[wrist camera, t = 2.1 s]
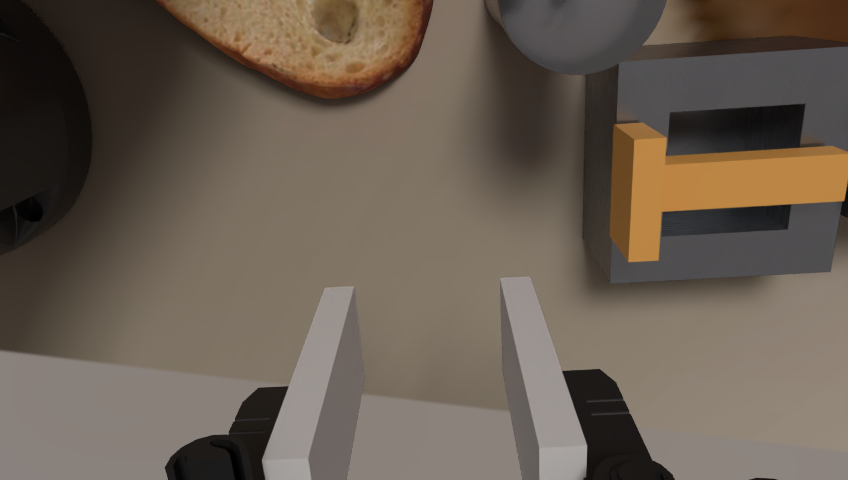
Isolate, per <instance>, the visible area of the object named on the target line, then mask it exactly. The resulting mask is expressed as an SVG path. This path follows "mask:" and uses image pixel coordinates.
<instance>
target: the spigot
mask: <svg viewBox="0 0 848 480" xmlns="http://www.w3.org/2000/svg"><path fill="white" fill-rule="evenodd" d="M666 1H667V0H485V4H486V7H487V9H488V11H489V13H490V15H491V16H492V18H493V19H494V20H495V21H496V22H497V23H498V24H499V25H501V26H502V27H503V28H504V30H505V32H506V34H507V36H508V37H509V39H510V40H511V41H512V43H513V44H514V45H515V46H516V47H517V48H518V50H519V51H520V52H522V53H523V54H524V55H525V56H526V57H528V58H529V59H530V60H532V61H533V62H535V63H537V64H538V65H540V66H542V67H544V68H546V69H549V70H551V71H555V72H558V73H563V74H570V75H583V74H591V73H596V72H599V71H603V70H606V69H608V68H610V67H613V66H615V65H617V64H618V63H620V62H622V61H624V60H625V59H626V58H628V57H629V56H631V55H632V54H633V53H634V52H635V51H636V50H638V49H639V48H640V47H641V46H642V45H643V43H644V42H645V41H646V40H647V39H648V38H649V36H650V35H651V33H652V32H653V30H654V29H655V27H656V25H657V23H658V22H659V20H660V18H661V15H662V13H663V10H664V8H665V5H666Z"/></svg>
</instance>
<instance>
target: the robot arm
mask: <svg viewBox="0 0 848 480" xmlns="http://www.w3.org/2000/svg"><path fill="white" fill-rule="evenodd" d="M91 138H92V136H91V124H90V116H89V111H88V107H87V102H86V99H85V95H84V92H83V89H82V87H81V84H80V81H79V79H78V77H77V74H76V72H75V70H74V68H73V66H72V64H71V62H70V60H69V59H68V57H67V55H66V54H65V52H64V50H63V49H62V47H61V46H60V44H59V43H58V41H57V40H56V38H55V37H54V36H53V35H52V33H51V32H50V31H49V29H48V28H47V27H46V26H45V25H44V24H43V22H42V21H41V20H40V19H39V18H38V17H37V16H36V15H35V14H34V13H33V12H32V11H31V10H30V9H29V8H28V7H27V6H26V5H24V4H23V3H22V2H21V1H20V0H0V255H2V254H5V253H8V252H10V251H12V250H14V249H16V248H18V247H20V246H22V245H24V244H25V243H27V242H29V241H30V240H32V239H33V238H35V237H37V236H38V235H40V234H42V233H43V232H45V231H46V230H48V229H49V228H50V227H52V226H53V225H54V224H55V223H57V222H58V221H59V220H60V219H61V218H62V217H63V216H64V215H65V214H66V212H67V211H68V210H69V209H70V207H71V206H72V205H73V203H74V202H75V200H76V198H77V197H78V195H79V193H80V191H81V189H82V186H83V184H84V181H85V178H86V175H87V172H88V168H89V163H90V157H91ZM500 297H501V333H502V369H503V376H504V381H505V387H506V392H507V398H508V403H509V409H510V414H511V420H512V425H513V430H514V436H515V441H516V447H517V452H518V458H519V463H520V469H521V474H522V480H675V479H674V478H673V475H672V474H671V473H670V472H669V471H667V469H666V468H664V467H663V466H662V465H661V464H659V463H656V462H655V461H652V459H651V457H650V454H649V452H648V450H647V448H646V446H645V444H644V442H643V439H642V437H641V435H640V433H639V431H638V429H637V427H636V424H635V422H634V420H633V418H632V416H631V414H629V409H628V407H627V405H626V403H625V401H623V397H622V394H621V392H620V390H619V388H618V386H617V384H616V382H615V381H614V380H612V379H611V378H610V377H609V376H607V375H606V374H605V373H604V372H603V371H601V370H600V369H592V370H572V371H562V370H561V367H560V364H559V361H558V358H557V355H556V352H555V349H554V346H553V343H552V340H551V337H550V334H549V331H548V329H547V326H546V323H545V320H544V317H543V314H542V311H541V308H540V305H539V302H538V299H537V296H536V293H535V290H534V287H533V284H532V281H531V278H530V276H529V277H511V278H500ZM364 379H365V375H364V366H363V357H362V349H361V340H360V331H359V323H358V314H357V306H356V297H355V288H354V286H349V287H331V288H325V289H324V292H323V294H322V297H321V300H320V303H319V305H318V308H317V311H316V314H315V316H314V319H313V322H312V325H311V327H310V330H309V333H308V335H307V338H306V341H305V344H304V346H303V349H302V352H301V355H300V357H299V360H298V363H297V366H296V368H295V371H294V374H293V376H292V379H291V382H290V385H289V386H285V387H266V388H258V389H257V390H256V391H255V392H253V393H252V394H251V395H250V396H249V397H248V398H247V399H246V400H245V401H244V402H242V405H241V407H240V409H239V411H238V413H237V415H236V418H235V422H233V424H232V426H231V428H230V431H229V435H211V436H208V437H204V438H200V439H197V440H195V441H193V442H191V443H189V444H187V445H185V446H183V447H182V448H180V449H179V450H178V451H177V452H176V453H175V454H174V455H173V456H172V457H171V458H170V460H169V461H168V463H167V465H166V466H165V470H166V473H167V477H168V480H347V475H348V469H349V463H350V457H351V452H352V447H353V441H354V435H355V430H356V424H357V418H358V413H359V407H360V402H361V396H362V390H363V385H364ZM751 480H776V479H766V478H754V479H751Z"/></svg>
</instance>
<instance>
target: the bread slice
mask: <svg viewBox="0 0 848 480" xmlns="http://www.w3.org/2000/svg"><path fill="white" fill-rule="evenodd" d="M155 1H156V2H157V3H158V4H159V5H161V6H162V7H163V8H164V9H166V10H167V11H168V12H169V13H170V14H172V15H173V16H174V17H175V18H176V19H178V20H179V21H180V22H181V23H183V24H184V25H186V26H187V27H189V28H190V29H192V30H193V31H195V32H197V33H198V34H199V35H201V36H202V37H203V38H204V39H206V40H207V41H208V42H209V43H211V44H212V45H214V46H215V47H217V48H218V49H220V50H221V51H222V52H224V53H225V54H227V55H228V56H230V57H231V58H233V59H234V60H236V61H238V62H239V63H241V64H243V65H245V66H247V67H249V68H252V69H255V70H258V71H260V72H262V73H263V74H265V75H267V76H269V77H271V78H273V79H275V80H277V81H279V82H281V83H283V84H285V85H287V86H289V87H291V88H293V89H296V90H298V91H301V92H304V93H307V94H310V95H313V96H317V97H321V98H328V99H332V98H341V97H350V96H354V95H358V94H361V93H364V92H368V91H370V90H373V89H375V88H377V87H379V86H380V85H382V84H384V83H386V82H387V81H389V80H390V79H392V78H393V77H395V76H396V75H398V74H400V73H401V72H403V71H404V70H406V69H407V68H408V67H409V66H410V65H411V64H412V63H413V62H414V60H415V59H416V57H417V55H418V53H419V51H420V48H421V45H422V42H423V38H424V35H425V32H426V29H427V26H428V22H429V19H430V15H431V11H432V6H433V0H155Z"/></svg>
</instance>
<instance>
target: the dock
mask: <svg viewBox="0 0 848 480" xmlns="http://www.w3.org/2000/svg"><path fill="white" fill-rule="evenodd" d="M628 123H644V124H646V125H647V126H649V127H651V128H652V129H654V130H655V131H657V132H659V133H660V134H662V135H663V136H665V137H667V142H666V156H675V155H692V154H708V153H724V152H740V151H757V150H773V149H789V148H805V147H822V146H834V147H837V148H839V149H842V150H844V151H847V152H848V42H840V41H832V40H824V39H816V38H808V37H800V36H779V37H764V38H750V39H735V40H720V41H705V42H691V43H676V44H661V45H646V46H641V47H640V48H639V49H638V50H636V51H635V52H634V53H633V54H632V55H631V56H629V57H628V58H626V59H625V60H624V61H622V62H620V63H618V64H617V65H615V66H613V67H610V68H608V69H606V70H603V71H599V72H596V73H591V74H586V104H585V150H584V196H583V239H584V241H585V243H586V244H587V246H588V248H589V249H590V251H591V253H592V254H593V256H594V258H595V259H596V261H597V263H598V264H599V266H600V268H601V269H602V271H603V272H604V274H605V276H606V277H607V279H608V281H609V282H610V284H616V283H634V282H653V281H671V280H689V279H707V278H726V277H744V276H762V275H781V274H799V273H817V272H830V271H831V265H832V259H833V253H834V247H835V242H836V236H837V230H838V224H839V218H840V214H841V215H843V216H845V217H847V218H848V182H847V188H846V194H845V200H844V201H837V202H820V203H803V204H786V205H769V206H752V207H735V208H717V209H700V210H683V211H666V212H662V216H661V231H660V246H659V261H641V262H628V261H627V260H626V258H625V257H624V255H623V254H622V253H621V251H620V250H619V248H618V247H617V246H616V244H615V243H614V242H613V240H612V239H611V237H610V210H611V184H612V157H613V130H614V124H628Z"/></svg>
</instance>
